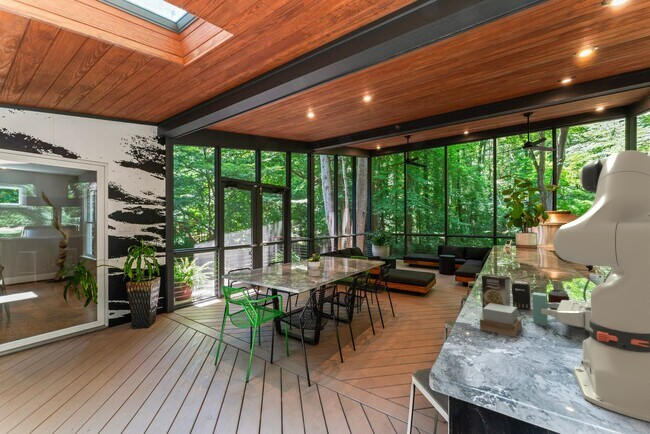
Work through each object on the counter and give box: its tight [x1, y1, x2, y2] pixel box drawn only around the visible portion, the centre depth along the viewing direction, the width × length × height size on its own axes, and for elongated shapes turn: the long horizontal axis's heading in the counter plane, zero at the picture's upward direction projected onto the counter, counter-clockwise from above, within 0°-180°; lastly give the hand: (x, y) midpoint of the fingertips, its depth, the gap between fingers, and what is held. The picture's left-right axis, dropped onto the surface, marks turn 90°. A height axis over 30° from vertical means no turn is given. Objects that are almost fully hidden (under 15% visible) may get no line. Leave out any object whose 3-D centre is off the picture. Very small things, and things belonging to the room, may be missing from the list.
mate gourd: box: [544, 272, 570, 310], centre depth 130 cm, size 8×8×15 cm
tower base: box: [479, 316, 523, 338], centre depth 109 cm, size 11×11×4 cm
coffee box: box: [481, 273, 511, 309], centre depth 125 cm, size 9×6×16 cm
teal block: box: [531, 292, 549, 327], centre depth 113 cm, size 4×4×11 cm
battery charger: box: [511, 281, 532, 310], centre depth 132 cm, size 7×4×11 cm, turn 47°
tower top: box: [482, 303, 518, 325], centre depth 109 cm, size 9×9×4 cm
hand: (543, 307), depth 113 cm, fingers open, 8 cm apart
